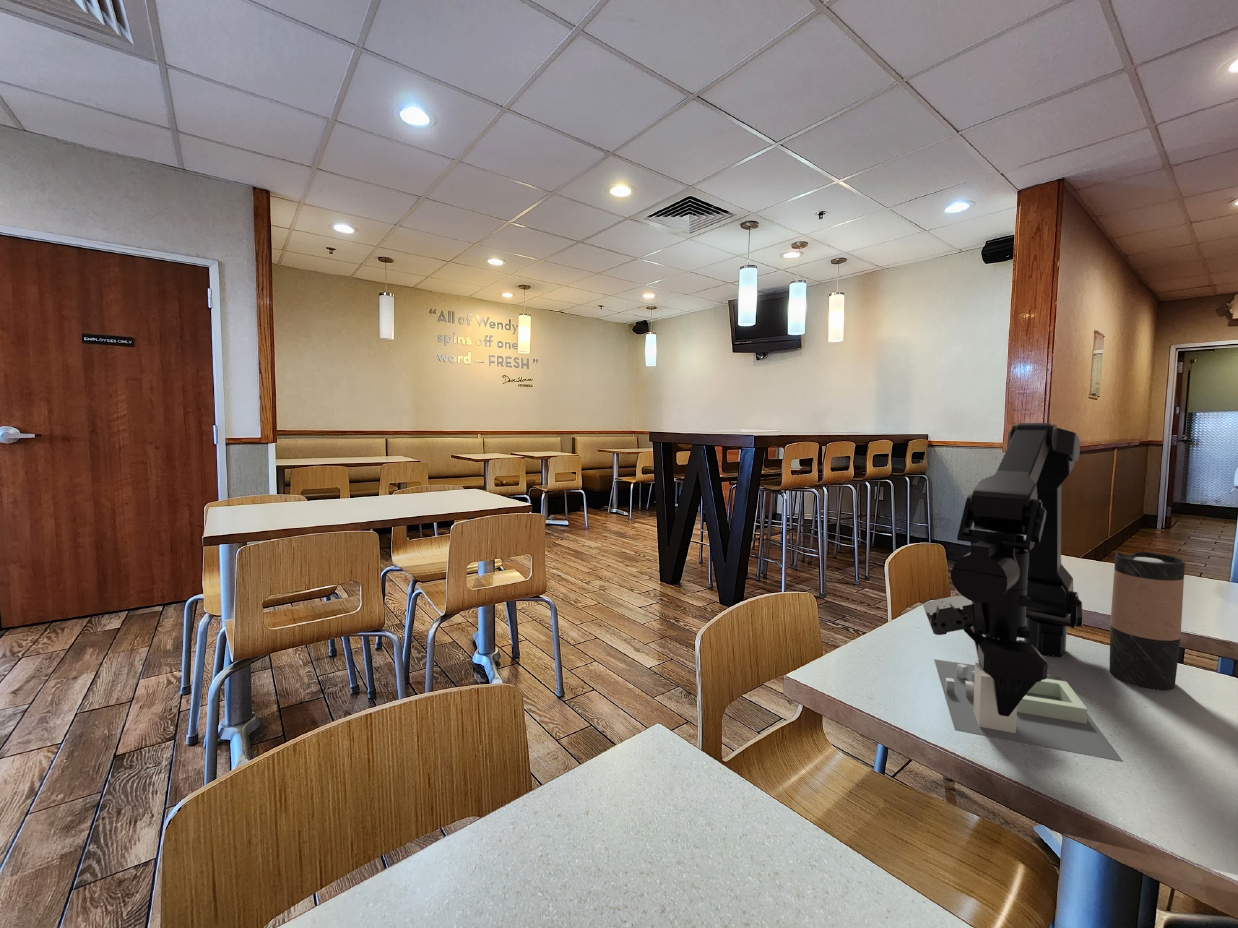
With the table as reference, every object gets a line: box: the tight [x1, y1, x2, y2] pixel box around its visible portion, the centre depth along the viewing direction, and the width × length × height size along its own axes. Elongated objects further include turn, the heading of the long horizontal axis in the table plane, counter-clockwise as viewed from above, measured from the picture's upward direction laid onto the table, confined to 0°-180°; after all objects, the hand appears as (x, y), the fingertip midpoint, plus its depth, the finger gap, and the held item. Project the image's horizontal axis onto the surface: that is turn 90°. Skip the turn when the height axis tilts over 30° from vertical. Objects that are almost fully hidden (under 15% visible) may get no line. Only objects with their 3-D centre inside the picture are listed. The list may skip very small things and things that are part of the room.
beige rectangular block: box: [973, 662, 1017, 733], centre depth 71 cm, size 4×4×7 cm
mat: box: [934, 658, 1124, 762], centre depth 77 cm, size 22×17×1 cm
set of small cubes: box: [946, 663, 975, 698], centre depth 82 cm, size 10×9×2 cm
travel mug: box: [1109, 551, 1186, 692], centre depth 82 cm, size 8×8×20 cm
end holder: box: [1017, 679, 1088, 724], centre depth 76 cm, size 8×8×2 cm
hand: (995, 697), depth 72 cm, fingers open, 9 cm apart
